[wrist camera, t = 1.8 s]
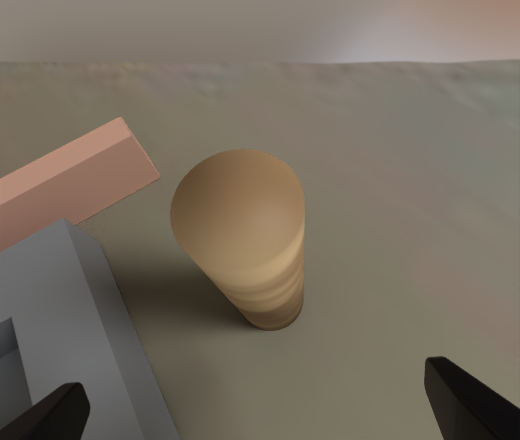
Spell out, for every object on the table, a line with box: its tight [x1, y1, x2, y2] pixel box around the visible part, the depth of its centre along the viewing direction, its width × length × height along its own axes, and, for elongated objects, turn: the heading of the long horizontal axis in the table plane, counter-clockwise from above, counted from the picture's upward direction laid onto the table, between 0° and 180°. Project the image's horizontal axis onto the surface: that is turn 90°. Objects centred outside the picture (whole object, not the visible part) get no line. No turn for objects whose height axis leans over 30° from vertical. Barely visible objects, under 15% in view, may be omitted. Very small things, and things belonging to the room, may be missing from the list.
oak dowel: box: [170, 149, 305, 331], centre depth 15 cm, size 4×4×12 cm
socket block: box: [0, 218, 180, 440], centre depth 18 cm, size 14×14×4 cm
